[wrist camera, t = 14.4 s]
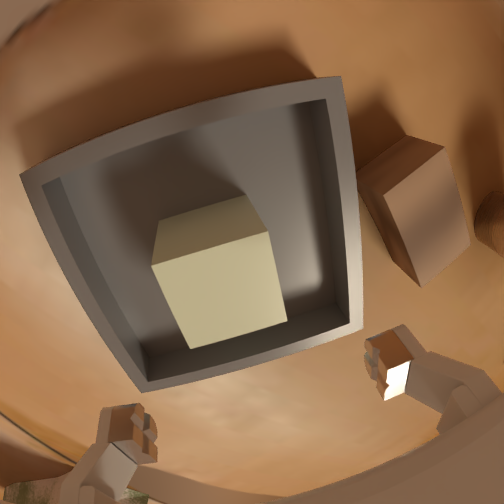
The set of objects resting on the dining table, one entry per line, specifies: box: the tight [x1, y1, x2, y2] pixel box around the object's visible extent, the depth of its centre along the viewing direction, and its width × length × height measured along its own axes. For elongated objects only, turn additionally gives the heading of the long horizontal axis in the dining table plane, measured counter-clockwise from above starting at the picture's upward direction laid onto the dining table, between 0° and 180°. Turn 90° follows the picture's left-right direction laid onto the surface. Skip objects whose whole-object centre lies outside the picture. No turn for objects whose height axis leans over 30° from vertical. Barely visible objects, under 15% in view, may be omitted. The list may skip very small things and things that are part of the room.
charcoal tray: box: [19, 76, 363, 393], centre depth 18 cm, size 16×16×3 cm
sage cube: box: [151, 195, 287, 349], centre depth 16 cm, size 5×5×5 cm
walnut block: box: [355, 135, 471, 288], centre depth 19 cm, size 8×5×4 cm, turn 36°
